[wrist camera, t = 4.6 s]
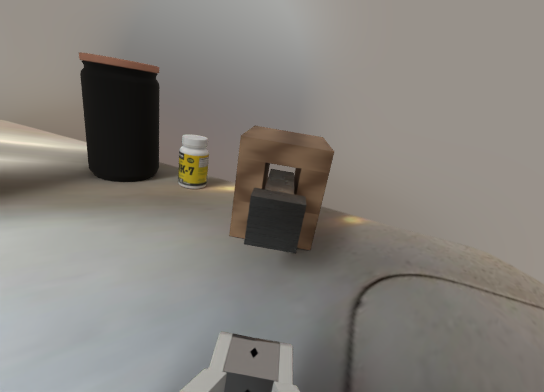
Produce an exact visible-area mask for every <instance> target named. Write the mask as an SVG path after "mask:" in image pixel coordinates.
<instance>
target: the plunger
mask: <svg viewBox="0 0 544 392" xmlns="http://www.w3.org/2000/svg"><path fill="white" fill-rule="evenodd" d="M305 210H306V197H305V196H300V195H295V194H294V173H292V172H286V171H280V170H275V169H271V171H270V174H269V177H268V180H267V184H266V187H265V189H260V188H254V189H253V191H252V194H251V197H250V204H249V212H248V219H247V226H246V233H245V240H244V244H246V245H252V246H258V247H263V248H269V249H274V250H280V251H286V252H291V253H296V250H297V246H298V241H299V237H300V232H301V228H302V223H303V219H304V214H305Z"/></svg>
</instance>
